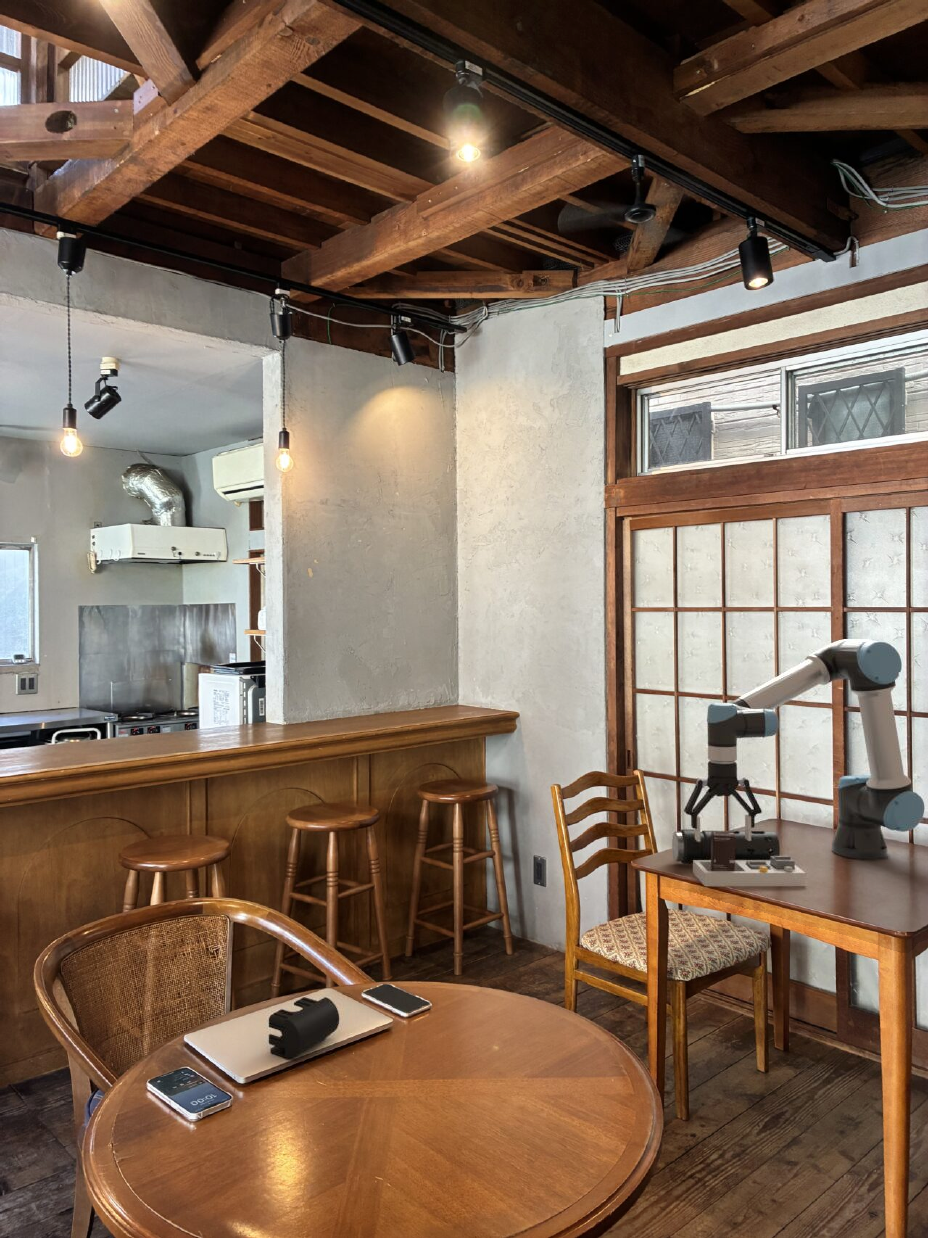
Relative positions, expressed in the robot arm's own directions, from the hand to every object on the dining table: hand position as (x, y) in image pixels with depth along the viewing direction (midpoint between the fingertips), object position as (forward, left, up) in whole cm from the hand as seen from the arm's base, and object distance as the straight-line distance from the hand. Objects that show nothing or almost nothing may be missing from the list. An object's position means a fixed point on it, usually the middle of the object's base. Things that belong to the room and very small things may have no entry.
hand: (722, 840), depth 241 cm
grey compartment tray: (-7, 0, -11) cm, 12 cm away
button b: (-9, 0, -10) cm, 14 cm away
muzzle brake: (-4, -13, -11) cm, 17 cm away
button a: (-16, 0, -9) cm, 18 cm away
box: (0, 0, -10) cm, 10 cm away
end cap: (+97, +92, -11) cm, 134 cm away
